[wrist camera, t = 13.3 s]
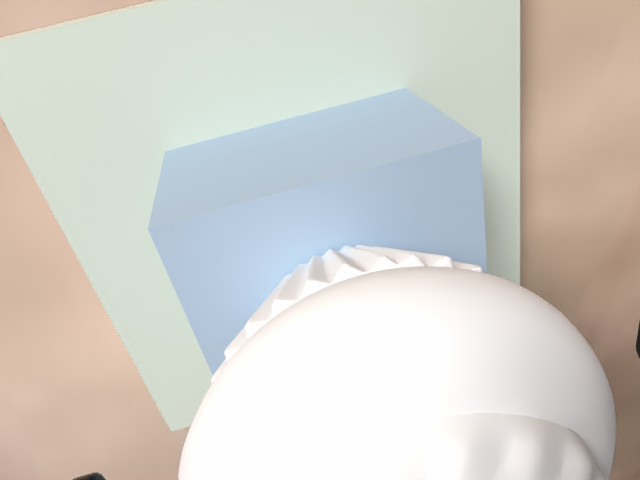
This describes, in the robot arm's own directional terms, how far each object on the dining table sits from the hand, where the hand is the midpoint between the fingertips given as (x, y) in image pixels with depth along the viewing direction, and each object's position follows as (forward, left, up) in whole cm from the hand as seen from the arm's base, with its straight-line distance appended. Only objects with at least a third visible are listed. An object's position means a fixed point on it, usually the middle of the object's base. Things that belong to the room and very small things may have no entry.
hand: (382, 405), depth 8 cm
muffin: (0, 0, -3) cm, 3 cm away
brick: (0, 0, -6) cm, 7 cm away
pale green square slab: (0, 0, -8) cm, 8 cm away
